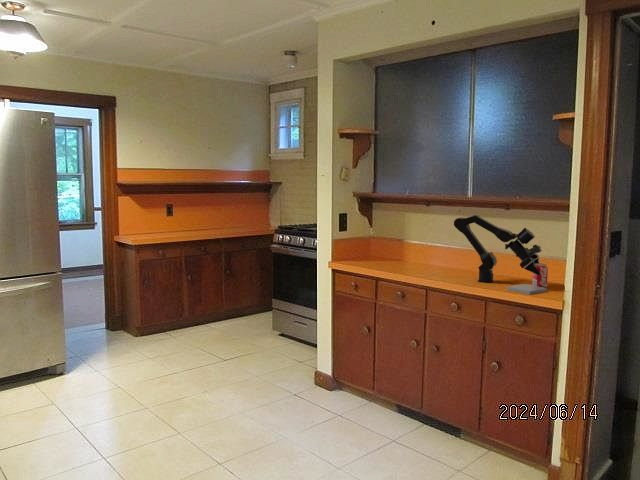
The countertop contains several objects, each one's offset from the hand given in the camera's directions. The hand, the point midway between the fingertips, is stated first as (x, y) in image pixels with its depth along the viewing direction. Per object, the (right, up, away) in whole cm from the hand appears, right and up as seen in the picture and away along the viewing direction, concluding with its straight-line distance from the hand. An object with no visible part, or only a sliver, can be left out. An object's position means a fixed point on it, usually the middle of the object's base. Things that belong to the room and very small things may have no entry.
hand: (541, 273), depth 266 cm
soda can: (0, -8, +1) cm, 8 cm away
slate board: (-10, -8, -6) cm, 14 cm away
